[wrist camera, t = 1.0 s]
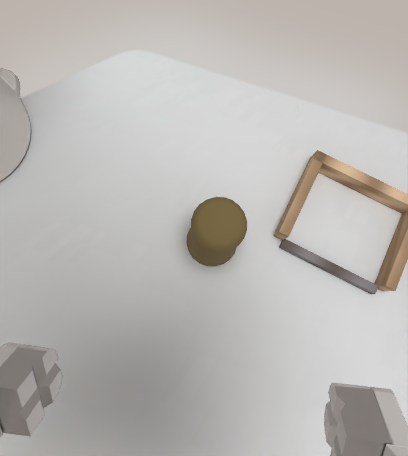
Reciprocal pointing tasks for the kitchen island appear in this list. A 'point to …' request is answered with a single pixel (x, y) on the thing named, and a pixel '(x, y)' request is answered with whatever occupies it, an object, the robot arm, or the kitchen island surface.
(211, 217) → the cork
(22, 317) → the kitchen island surface
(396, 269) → the bay
